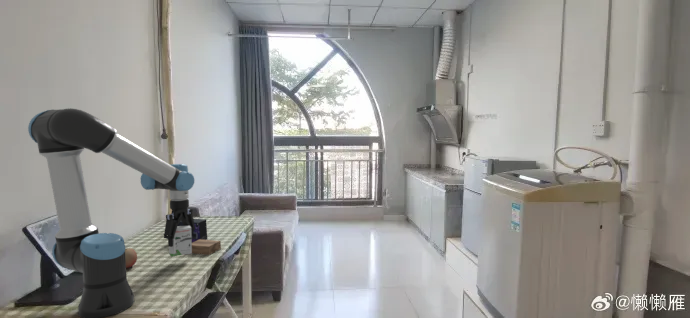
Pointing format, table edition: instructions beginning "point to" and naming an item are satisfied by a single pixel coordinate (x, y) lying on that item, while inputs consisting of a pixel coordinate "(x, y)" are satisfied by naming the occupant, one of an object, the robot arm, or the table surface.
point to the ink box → (183, 240)
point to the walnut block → (205, 246)
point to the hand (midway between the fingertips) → (180, 250)
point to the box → (198, 229)
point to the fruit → (130, 257)
